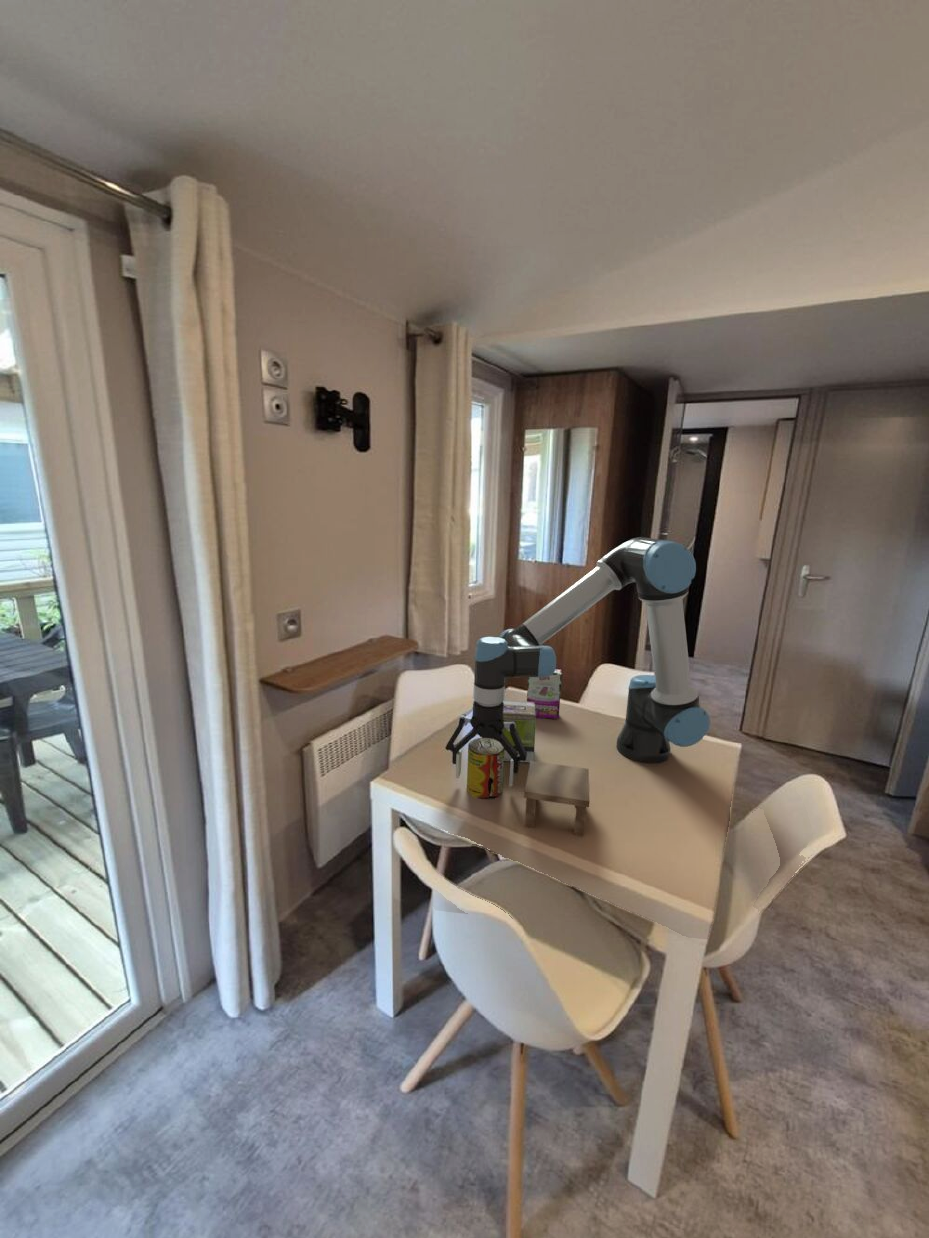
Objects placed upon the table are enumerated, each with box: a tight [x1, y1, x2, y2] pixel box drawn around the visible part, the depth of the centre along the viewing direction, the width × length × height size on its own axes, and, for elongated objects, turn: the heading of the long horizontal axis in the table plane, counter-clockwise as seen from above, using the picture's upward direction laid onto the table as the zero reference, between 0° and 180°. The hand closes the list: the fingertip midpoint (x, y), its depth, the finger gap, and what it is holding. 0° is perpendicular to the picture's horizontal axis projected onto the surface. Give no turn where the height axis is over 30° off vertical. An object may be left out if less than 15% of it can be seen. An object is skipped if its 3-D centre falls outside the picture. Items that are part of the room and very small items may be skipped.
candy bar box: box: [526, 668, 563, 720], centre depth 172 cm, size 11×5×16 cm, turn 80°
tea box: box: [481, 699, 537, 764], centre depth 146 cm, size 15×10×15 cm, turn 84°
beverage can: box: [466, 737, 505, 800], centre depth 128 cm, size 9×9×12 cm
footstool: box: [523, 761, 590, 837], centre depth 119 cm, size 14×14×9 cm
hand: (484, 779), depth 128 cm, fingers open, 13 cm apart
